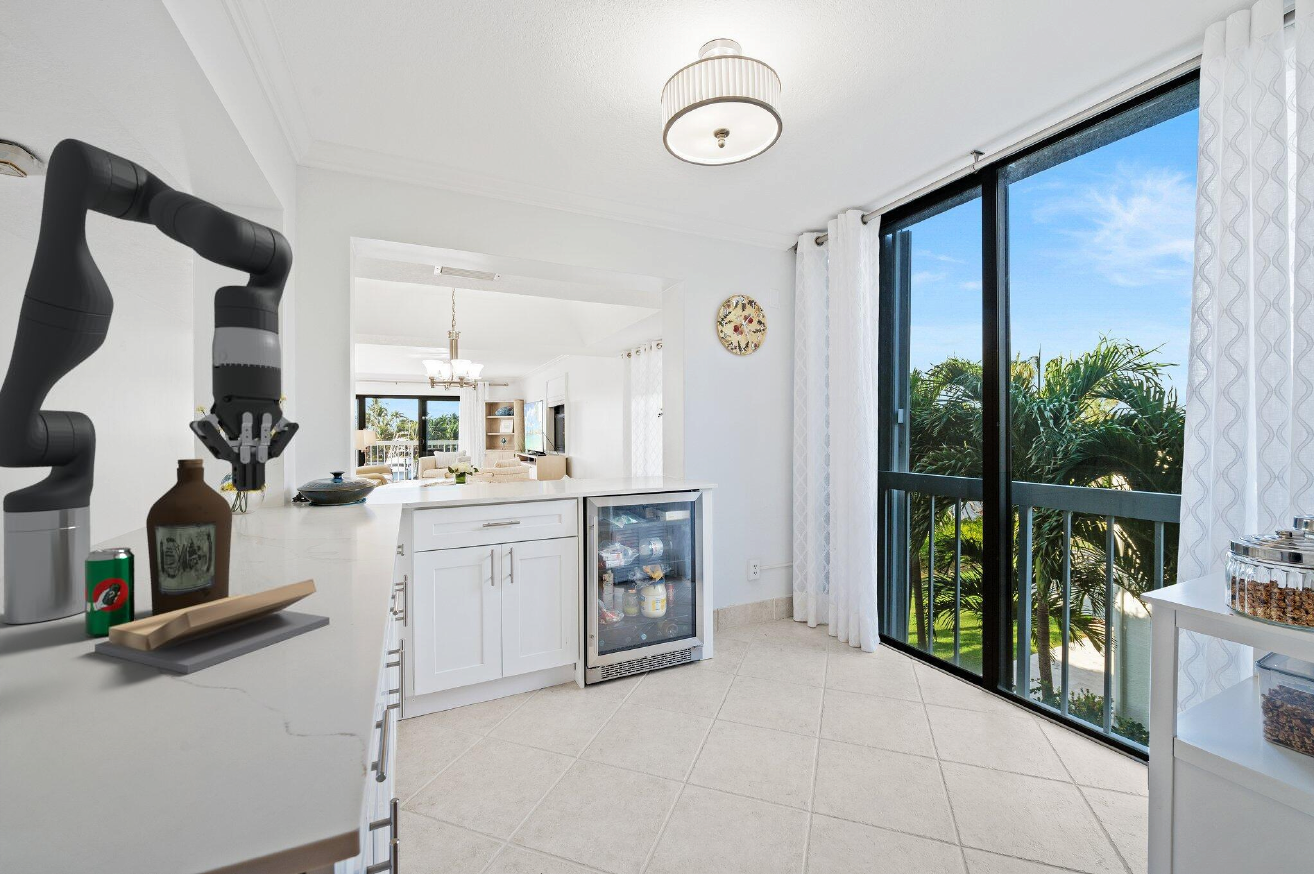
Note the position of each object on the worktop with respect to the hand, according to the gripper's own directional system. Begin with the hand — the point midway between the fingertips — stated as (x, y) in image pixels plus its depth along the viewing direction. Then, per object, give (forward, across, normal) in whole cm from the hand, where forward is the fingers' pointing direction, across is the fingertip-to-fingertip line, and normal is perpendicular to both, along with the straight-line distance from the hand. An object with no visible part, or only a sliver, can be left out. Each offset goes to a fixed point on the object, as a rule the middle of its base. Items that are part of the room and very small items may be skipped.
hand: (248, 490), depth 72 cm
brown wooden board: (+18, 0, -2) cm, 18 cm away
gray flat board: (+21, 0, -6) cm, 22 cm away
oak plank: (+21, 0, -11) cm, 24 cm away
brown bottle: (+21, -6, -24) cm, 33 cm away
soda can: (+21, +4, -24) cm, 33 cm away
